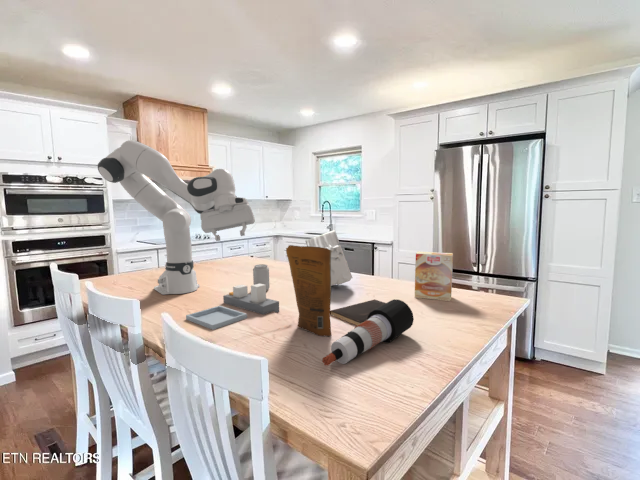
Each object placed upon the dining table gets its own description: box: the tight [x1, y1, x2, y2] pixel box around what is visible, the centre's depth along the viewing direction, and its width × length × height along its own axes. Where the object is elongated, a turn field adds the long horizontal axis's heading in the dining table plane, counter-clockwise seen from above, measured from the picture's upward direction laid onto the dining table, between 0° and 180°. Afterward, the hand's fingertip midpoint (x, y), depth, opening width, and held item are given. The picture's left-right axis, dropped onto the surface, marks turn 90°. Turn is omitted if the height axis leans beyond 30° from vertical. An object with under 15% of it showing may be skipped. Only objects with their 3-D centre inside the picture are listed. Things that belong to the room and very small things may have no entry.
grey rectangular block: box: [250, 283, 267, 304], centre depth 131 cm, size 4×4×9 cm
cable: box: [321, 299, 414, 367], centre depth 96 cm, size 10×34×10 cm, turn 135°
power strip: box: [222, 284, 280, 316], centre depth 134 cm, size 24×8×8 cm, turn 52°
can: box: [252, 264, 270, 291], centre depth 162 cm, size 8×8×12 cm
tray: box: [185, 305, 248, 331], centre depth 120 cm, size 16×14×2 cm
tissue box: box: [305, 229, 353, 287], centre depth 168 cm, size 21×17×26 cm
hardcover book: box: [330, 299, 387, 326], centre depth 126 cm, size 16×23×2 cm
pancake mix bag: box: [285, 244, 333, 337], centre depth 109 cm, size 7×19×28 cm, turn 43°
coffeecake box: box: [414, 251, 454, 302], centre depth 146 cm, size 15×7×20 cm, turn 68°
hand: (230, 237), depth 129 cm, fingers open, 8 cm apart
